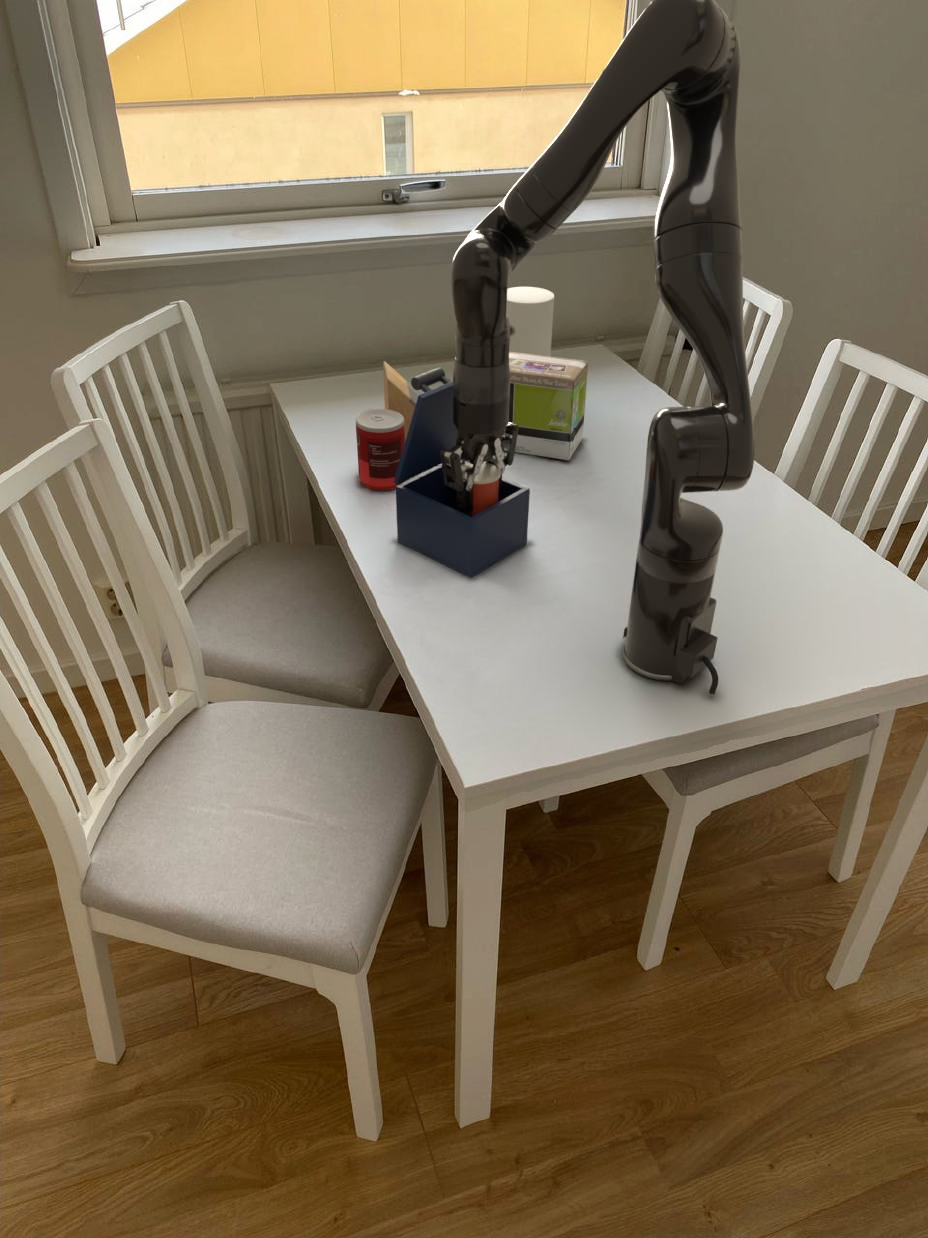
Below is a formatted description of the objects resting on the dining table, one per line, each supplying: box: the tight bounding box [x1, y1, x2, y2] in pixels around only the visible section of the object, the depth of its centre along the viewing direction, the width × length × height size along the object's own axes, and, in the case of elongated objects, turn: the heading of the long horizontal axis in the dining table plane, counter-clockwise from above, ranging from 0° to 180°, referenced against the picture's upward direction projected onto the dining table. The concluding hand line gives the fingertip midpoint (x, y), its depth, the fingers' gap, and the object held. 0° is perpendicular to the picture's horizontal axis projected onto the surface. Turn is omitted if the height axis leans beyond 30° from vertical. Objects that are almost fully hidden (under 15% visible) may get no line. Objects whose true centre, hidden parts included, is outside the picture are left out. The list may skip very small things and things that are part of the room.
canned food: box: [355, 408, 405, 492], centre depth 156 cm, size 8×8×11 cm
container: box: [506, 286, 555, 357], centre depth 182 cm, size 10×10×20 cm
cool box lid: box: [394, 367, 458, 485], centre depth 137 cm, size 16×13×5 cm
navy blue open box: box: [395, 461, 531, 579], centre depth 141 cm, size 15×13×9 cm
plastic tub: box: [463, 462, 501, 516], centre depth 136 cm, size 6×6×6 cm
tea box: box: [504, 352, 589, 461], centre depth 167 cm, size 15×10×15 cm, turn 70°
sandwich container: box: [382, 360, 421, 441], centre depth 165 cm, size 9×15×15 cm, turn 99°
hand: (479, 502), depth 137 cm, fingers closed on plastic tub, 5 cm apart
